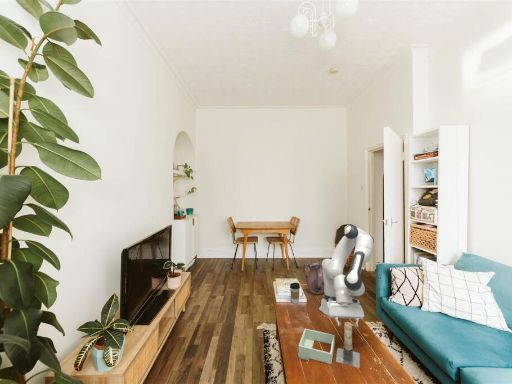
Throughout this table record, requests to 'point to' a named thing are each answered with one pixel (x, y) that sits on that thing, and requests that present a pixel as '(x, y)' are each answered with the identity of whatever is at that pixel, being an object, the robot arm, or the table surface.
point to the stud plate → (353, 363)
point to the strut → (348, 342)
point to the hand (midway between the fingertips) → (347, 326)
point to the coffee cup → (294, 292)
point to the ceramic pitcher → (314, 278)
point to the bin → (309, 352)
